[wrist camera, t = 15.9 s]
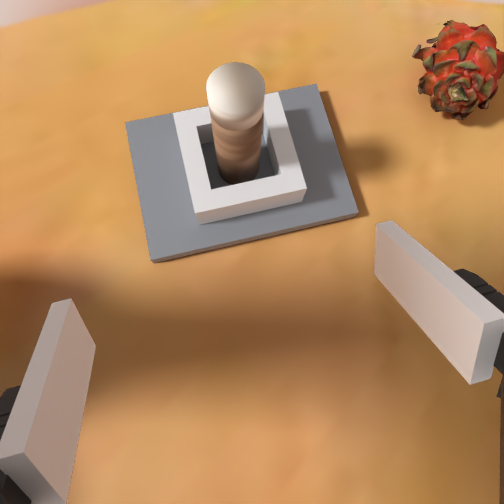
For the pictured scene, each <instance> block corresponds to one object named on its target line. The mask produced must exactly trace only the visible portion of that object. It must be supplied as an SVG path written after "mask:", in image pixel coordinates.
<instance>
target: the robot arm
mask: <svg viewBox="0 0 504 504" xmlns="http://www.w3.org/2000/svg"><path fill="white" fill-rule="evenodd" d="M374 275H375V276H376V277H377V278H378V279H379V281H380V282H381V283H382V284H383V285H384V286H385V288H386V289H387V290H388V291H389V292H390V293H391V294H392V296H393V297H394V298H395V299H396V300H397V301H398V303H399V304H400V305H401V306H402V307H403V308H404V310H405V311H406V312H407V313H408V314H409V315H410V316H411V318H412V319H413V320H414V321H415V322H416V323H417V325H418V326H419V327H420V328H421V329H422V330H423V331H424V333H425V334H426V335H427V336H428V337H429V338H430V340H431V341H432V342H433V343H434V344H435V345H436V346H437V348H438V349H439V350H440V351H441V352H442V353H443V355H444V356H445V357H446V358H447V359H448V360H449V361H450V363H451V364H452V365H453V366H454V367H455V368H456V370H457V371H458V372H459V373H460V374H461V375H462V376H463V378H464V379H465V380H466V381H467V382H468V383H469V385H471V384H475V383H478V382H481V381H485V380H488V379H491V376H492V373H493V369H494V366H495V367H496V368H497V369H498V370H499V371H500V372H501V373H502V374H503V377H502V380H501V384H500V387H499V391H498V394H497V397H500V398H501V433H500V504H504V296H503V295H502V294H501V293H500V292H497V290H496V289H494V288H493V287H492V286H491V285H488V283H487V282H486V281H484V280H483V279H482V278H480V277H479V276H478V275H476V274H474V273H472V272H469V271H467V270H465V269H459V270H456V271H452V270H451V269H450V268H449V267H447V266H446V265H445V264H444V263H443V262H442V261H440V260H439V259H438V258H437V257H436V256H434V255H433V254H432V253H431V252H430V251H428V250H427V249H426V248H425V247H424V246H422V245H421V244H420V243H419V242H418V241H416V240H415V239H414V238H413V237H412V236H410V235H409V234H408V233H407V232H406V231H404V230H403V229H402V228H401V227H400V226H398V225H397V224H396V223H395V222H394V221H392V220H390V221H386V222H382V223H378V224H376V231H375V269H374ZM95 350H96V345H95V343H94V341H93V339H92V337H91V335H90V333H89V332H88V330H87V328H86V326H85V324H84V322H83V320H82V318H81V316H80V314H79V312H78V310H77V308H76V306H75V304H74V302H73V300H72V299H71V298H70V299H66V300H62V301H58V302H54V303H52V304H51V307H50V310H49V312H48V315H47V318H46V320H45V323H44V326H43V328H42V331H41V334H40V336H39V339H38V342H37V344H36V347H35V350H34V352H33V355H32V358H31V360H30V363H29V366H28V368H27V371H26V374H25V376H24V379H23V382H22V384H21V386H17V387H13V388H9V389H7V390H6V391H5V392H4V393H3V395H2V396H1V397H0V504H31V503H32V504H67V499H68V494H69V488H70V483H71V478H72V472H73V467H74V462H75V456H76V451H77V446H78V440H79V435H80V430H81V424H82V419H83V414H84V408H85V403H86V398H87V392H88V387H89V382H90V376H91V371H92V366H93V360H94V355H95Z"/></svg>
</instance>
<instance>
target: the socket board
mask: <svg viewBox="0 0 504 504" xmlns="http://www.w3.org/2000/svg"><path fill="white" fill-rule="evenodd" d="M125 125H126V130H127V135H128V141H129V146H130V152H131V157H132V162H133V168H134V173H135V179H136V184H137V189H138V195H139V200H140V205H141V211H142V216H143V222H144V227H145V232H146V238H147V243H148V249H149V254H150V259H151V261H152V262H153V263H158V262H162V261H166V260H171V259H175V258H179V257H184V256H188V255H192V254H197V253H201V252H205V251H210V250H214V249H218V248H223V247H227V246H231V245H236V244H240V243H244V242H249V241H253V240H257V239H262V238H266V237H270V236H275V235H279V234H283V233H288V232H292V231H296V230H301V229H305V228H309V227H314V226H318V225H322V224H327V223H331V222H335V221H340V220H344V219H348V218H352V217H355V216H356V215H357V214H358V212H359V211H358V208H357V205H356V202H355V199H354V196H353V193H352V190H351V187H350V184H349V181H348V178H347V175H346V172H345V169H344V166H343V163H342V160H341V157H340V154H339V151H338V148H337V145H336V142H335V138H334V135H333V132H332V129H331V126H330V123H329V120H328V117H327V114H326V111H325V108H324V105H323V102H322V99H321V96H320V93H319V90H318V87H317V84H313V85H308V86H303V87H298V88H293V89H288V90H283V91H278V92H273V93H268V94H265V98H264V111H263V124H262V137H261V150H260V163H259V171H258V174H257V176H256V178H255V179H254V180H253V181H248V182H244V183H239V184H234V185H231V184H229V183H227V182H226V181H225V180H223V178H222V177H221V176H220V174H219V170H218V164H217V157H216V150H215V144H214V137H213V131H212V124H211V117H210V111H209V106H204V107H199V108H194V109H189V110H184V111H179V112H175V113H170V114H165V115H160V116H155V117H150V118H145V119H140V120H135V121H130V122H125Z"/></svg>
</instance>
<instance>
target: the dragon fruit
mask: <svg viewBox="0 0 504 504" xmlns="http://www.w3.org/2000/svg"><path fill="white" fill-rule="evenodd" d="M443 25H445V27H444V28H443V29H442V30H441V32H440V33H439V35H438V37H436V38H433V39H428V40H427V43H434V42H436V41H437V40H438V41H437V43H434V44H433V46H432V47H426V48H423V49H420V48H421V45H418V46H417V48H416V49H415V51H414V53H413V55H412V57H414V58H416V59H421V60H422V61H423V66H424V68H425V69H426V71H427V73H426V74H425V75H424V76H423V77H421V78H420V79H419V85H418V92H419V94H422V93H424V94H427V95H430V96H431V107H432V109H433V110H434V111H435V112H439V111H446V112H450V114H451V116H452V118H453V119H454V118H455V119H462V120H464V119H465V118H466V117H467V116H468V115H469V114H470V113H471V112H472V111H473V110H474V109H475V108H476V106H478V107H479V108H480V109H488V105H489V103H490V101H491V100H492V98H493V96H494V95H495V93H496V91H497V89H498V85H497V80H498V79H500V78H501V76H502V75H503V73H504V52H502V51H500V50H499V49H497V48H496V38H495V36H494V35H493V33H492V32H491V31H490V30H489V29H488V27H487V26H486V25H484V24H482V25H480V26H478V27H469V26H468V25H467V24H465V23H458V22H455V21H453V20H450V21H447V23H445V24H443Z"/></svg>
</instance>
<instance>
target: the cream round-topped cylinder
mask: <svg viewBox="0 0 504 504" xmlns="http://www.w3.org/2000/svg"><path fill="white" fill-rule="evenodd" d="M206 91H207V97H208V104H209V111H210V117H211V124H212V131H213V137H214V144H215V150H216V157H217V164H218V170H219V174H220V176H221V177H222V178H223V180H225V181H226V182H227V183H229V184H231V185H234V184H239V183H244V182H248V181H253V180H254V179H255V178H256V176H257V174H258V171H259V163H260V150H261V137H262V124H263V111H264V98H265V82H264V79H263V77H262V75H261V74H260V73H259V72H258V71H257V70H256V69H255V68H253V67H252V66H250V65H248V64H245V63H239V62H232V63H227V64H224V65H221V66H220V67H218V68H216V69H215V70H214V71H213V72H212V73H211V75H210V76H209V78H208V81H207V85H206Z"/></svg>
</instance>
